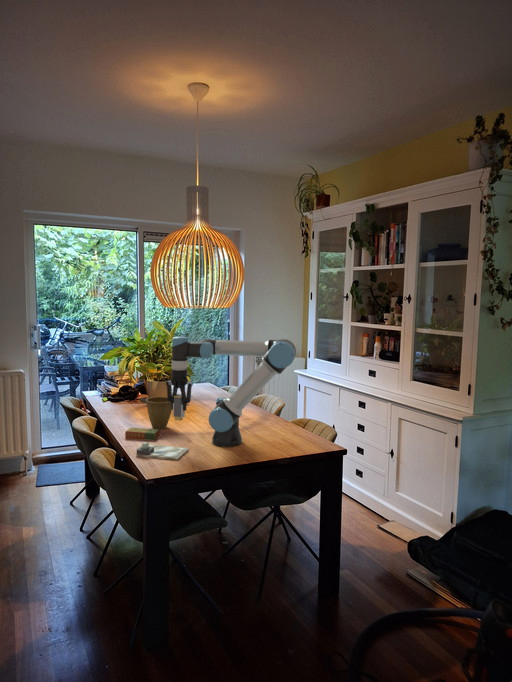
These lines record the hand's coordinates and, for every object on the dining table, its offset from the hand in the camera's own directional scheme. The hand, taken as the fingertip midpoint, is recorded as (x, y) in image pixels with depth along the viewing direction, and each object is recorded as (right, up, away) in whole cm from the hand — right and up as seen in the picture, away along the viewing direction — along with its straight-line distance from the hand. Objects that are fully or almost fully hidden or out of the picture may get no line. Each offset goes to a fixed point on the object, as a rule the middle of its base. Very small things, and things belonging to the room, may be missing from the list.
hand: (178, 416), depth 242 cm
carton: (-21, -14, +17) cm, 31 cm away
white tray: (-6, -16, -7) cm, 19 cm away
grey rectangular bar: (0, -2, 0) cm, 2 cm away
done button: (-14, -14, -10) cm, 22 cm away
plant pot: (-16, -12, +36) cm, 41 cm away
